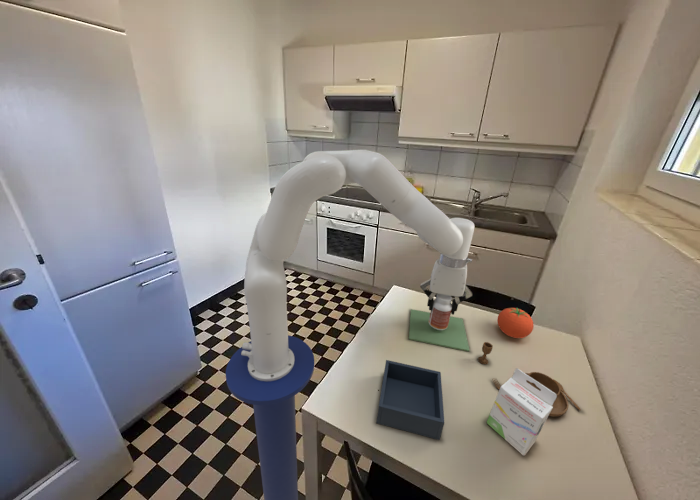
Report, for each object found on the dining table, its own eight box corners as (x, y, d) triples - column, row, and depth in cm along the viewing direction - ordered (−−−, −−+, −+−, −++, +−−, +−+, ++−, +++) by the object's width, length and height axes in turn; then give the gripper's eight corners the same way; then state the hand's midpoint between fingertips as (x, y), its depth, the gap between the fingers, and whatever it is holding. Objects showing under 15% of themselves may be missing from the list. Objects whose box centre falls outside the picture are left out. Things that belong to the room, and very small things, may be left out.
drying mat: (408, 339, 87) (409, 338, 87) (410, 310, 102) (410, 309, 101) (469, 351, 84) (469, 350, 83) (462, 319, 98) (462, 318, 98)
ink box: (484, 423, 63) (502, 375, 57) (496, 412, 66) (514, 365, 60) (524, 457, 57) (549, 407, 51) (535, 444, 59) (560, 395, 54)
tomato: (526, 330, 95) (536, 305, 91) (530, 349, 86) (540, 323, 82) (493, 320, 99) (501, 296, 95) (494, 338, 90) (502, 312, 86)
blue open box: (376, 423, 62) (378, 406, 59) (383, 375, 74) (386, 359, 72) (439, 440, 59) (444, 422, 57) (436, 387, 71) (440, 371, 69)
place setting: (522, 423, 64) (530, 405, 61) (474, 357, 82) (478, 341, 79) (587, 415, 66) (597, 397, 64) (526, 353, 84) (533, 338, 82)
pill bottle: (451, 330, 90) (458, 301, 85) (434, 332, 88) (440, 302, 84) (441, 318, 95) (447, 290, 91) (424, 319, 94) (430, 291, 89)
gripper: (481, 259, 84) (467, 308, 91) (422, 250, 87) (414, 299, 95) (486, 270, 77) (471, 322, 85) (422, 260, 81) (413, 311, 88)
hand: (441, 309), depth 89 cm, fingers closed on pill bottle, 6 cm apart
